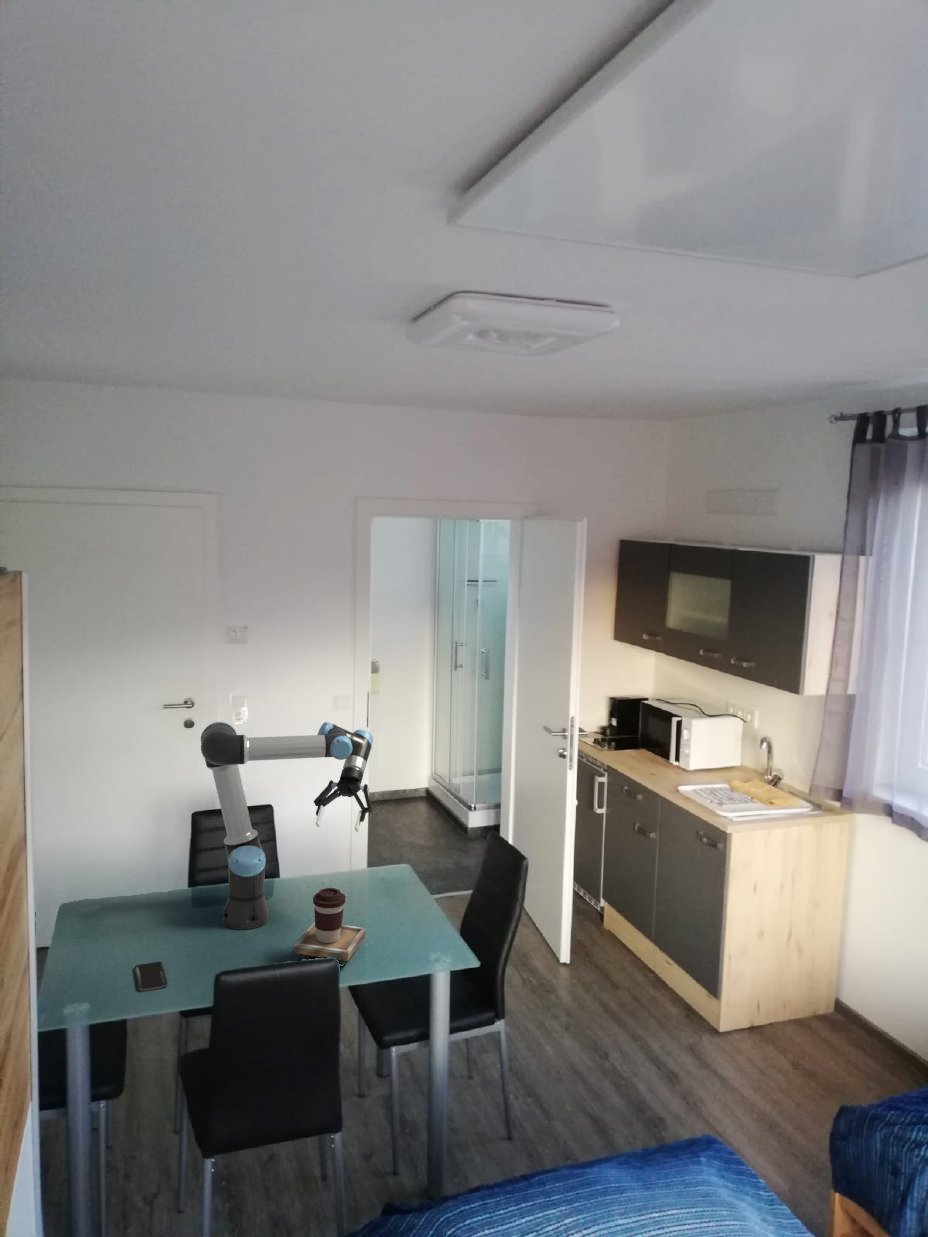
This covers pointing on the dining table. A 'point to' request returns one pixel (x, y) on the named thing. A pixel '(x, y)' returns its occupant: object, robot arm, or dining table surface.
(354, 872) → the dining table surface
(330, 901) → the coffee cup
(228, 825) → the robot arm
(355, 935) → the shallow square tray
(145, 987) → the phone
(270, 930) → the dining table surface
